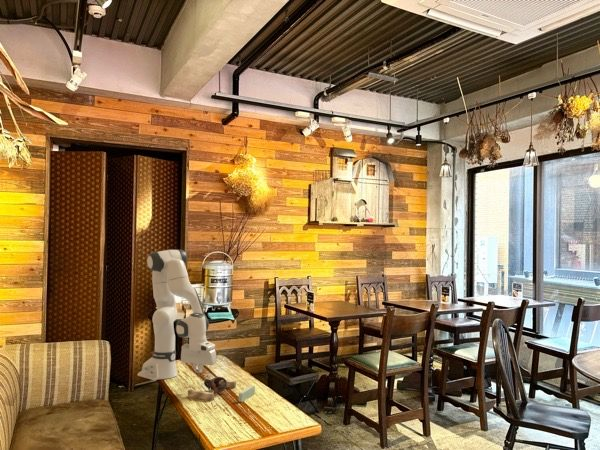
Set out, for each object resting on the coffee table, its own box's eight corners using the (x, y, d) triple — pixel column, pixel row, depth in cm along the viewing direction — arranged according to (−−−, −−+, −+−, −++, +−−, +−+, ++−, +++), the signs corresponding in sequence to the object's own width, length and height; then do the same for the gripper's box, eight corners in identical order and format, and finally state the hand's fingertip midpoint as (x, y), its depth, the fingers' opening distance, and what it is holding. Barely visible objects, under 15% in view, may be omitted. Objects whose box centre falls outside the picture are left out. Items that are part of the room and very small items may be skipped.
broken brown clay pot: (227, 388, 237) (229, 377, 233) (222, 402, 228) (225, 390, 225) (204, 382, 236) (207, 371, 233) (199, 396, 228) (202, 384, 224)
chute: (187, 396, 223) (187, 390, 223) (213, 383, 243) (213, 377, 243) (211, 400, 217) (211, 394, 217) (235, 387, 238) (236, 381, 238)
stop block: (238, 401, 217) (238, 392, 217) (251, 393, 228) (251, 385, 228) (242, 401, 216) (242, 393, 216) (254, 394, 227) (254, 386, 227)
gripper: (177, 345, 235) (178, 371, 235) (210, 347, 227) (211, 375, 227) (185, 342, 241) (186, 368, 241) (217, 345, 233) (218, 372, 232)
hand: (198, 372), depth 234 cm, fingers closed
